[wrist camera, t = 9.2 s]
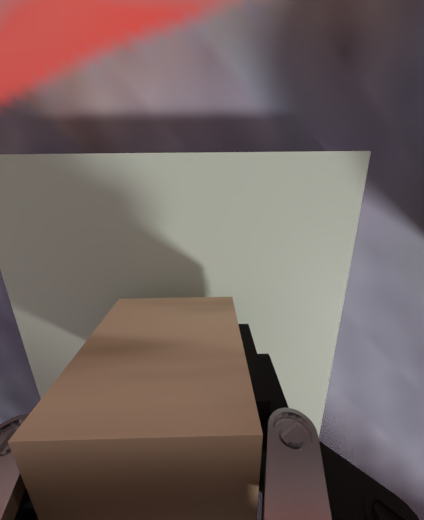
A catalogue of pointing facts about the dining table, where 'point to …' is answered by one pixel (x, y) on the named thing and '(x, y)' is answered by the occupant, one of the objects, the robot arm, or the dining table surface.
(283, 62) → the dining table surface
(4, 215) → the sage stand
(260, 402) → the robot arm
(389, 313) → the dining table surface
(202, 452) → the maple block
